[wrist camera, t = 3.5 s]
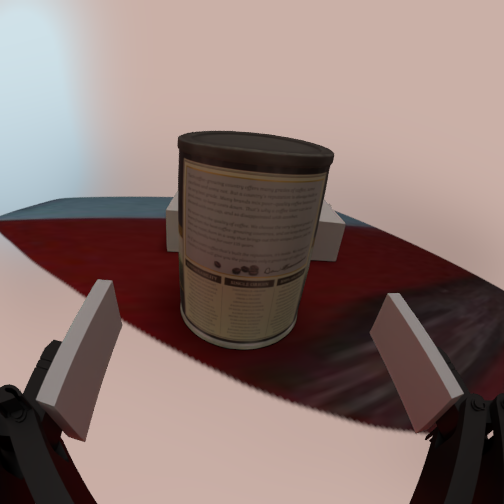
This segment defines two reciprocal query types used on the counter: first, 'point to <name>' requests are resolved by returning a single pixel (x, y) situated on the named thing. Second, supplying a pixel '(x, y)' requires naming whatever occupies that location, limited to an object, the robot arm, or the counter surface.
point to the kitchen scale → (324, 242)
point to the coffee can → (246, 232)
